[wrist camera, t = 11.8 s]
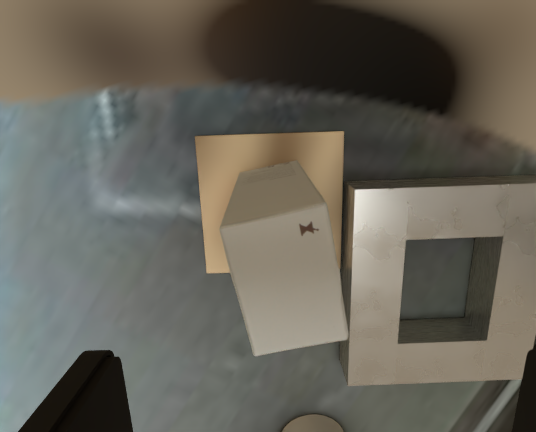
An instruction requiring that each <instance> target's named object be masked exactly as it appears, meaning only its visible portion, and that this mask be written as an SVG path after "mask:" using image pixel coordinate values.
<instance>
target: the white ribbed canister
mask: <svg viewBox="0 0 536 432" xmlns="http://www.w3.org/2000/svg"><path fill="white" fill-rule="evenodd" d="M282 432H343V429H342V428H341V426H340V425H339V424H338V423H337V422H336V421H334V420H333V419H331V418H329V417H326V416H323V415H317V414H313V415H305V416H301V417H298V418H296V419H294V420H292V421H291V422H290V423H288V424H287V425H286V426H285V427H284V429H283V431H282Z"/></svg>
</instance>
